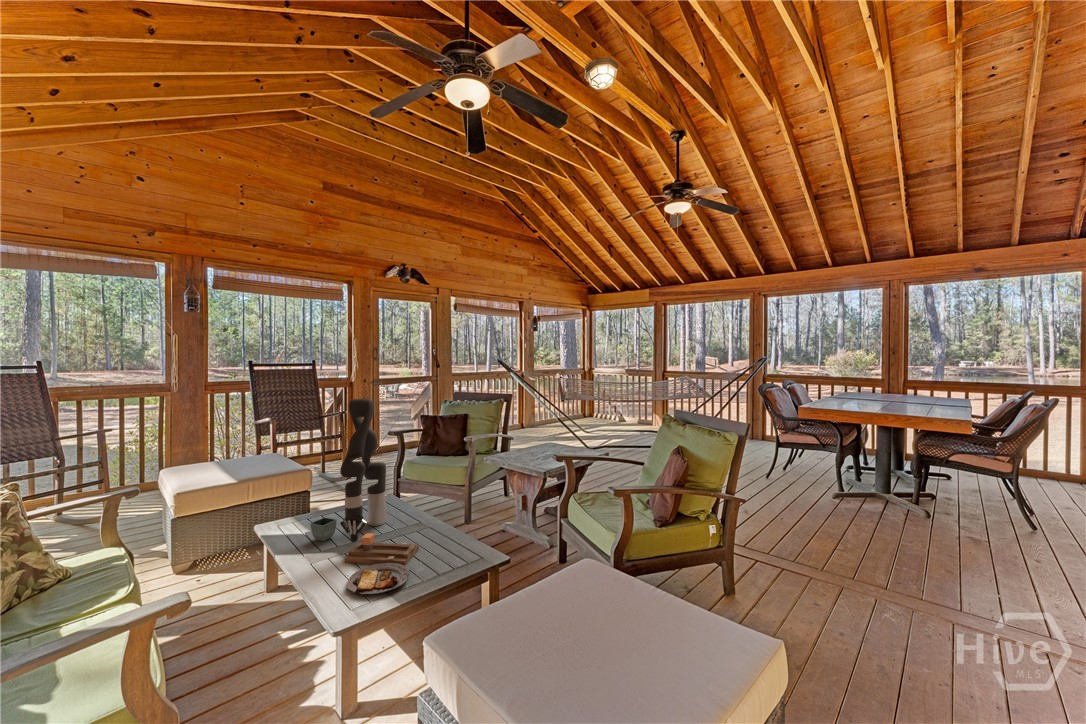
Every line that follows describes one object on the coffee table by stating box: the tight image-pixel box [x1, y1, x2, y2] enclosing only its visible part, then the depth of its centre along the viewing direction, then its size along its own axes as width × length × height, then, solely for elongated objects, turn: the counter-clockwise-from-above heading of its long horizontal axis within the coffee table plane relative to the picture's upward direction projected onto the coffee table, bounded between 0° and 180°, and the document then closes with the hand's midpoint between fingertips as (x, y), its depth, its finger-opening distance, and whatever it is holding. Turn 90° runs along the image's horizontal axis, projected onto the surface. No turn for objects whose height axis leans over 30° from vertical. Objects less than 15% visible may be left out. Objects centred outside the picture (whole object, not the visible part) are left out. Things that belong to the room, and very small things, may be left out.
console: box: [344, 541, 420, 566], centre depth 204 cm, size 16×28×4 cm, turn 84°
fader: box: [361, 532, 376, 550], centre depth 204 cm, size 5×4×7 cm
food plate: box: [345, 563, 410, 595], centre depth 181 cm, size 25×23×4 cm
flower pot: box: [309, 516, 337, 542], centre depth 221 cm, size 9×9×9 cm
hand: (354, 541), depth 205 cm, fingers closed
